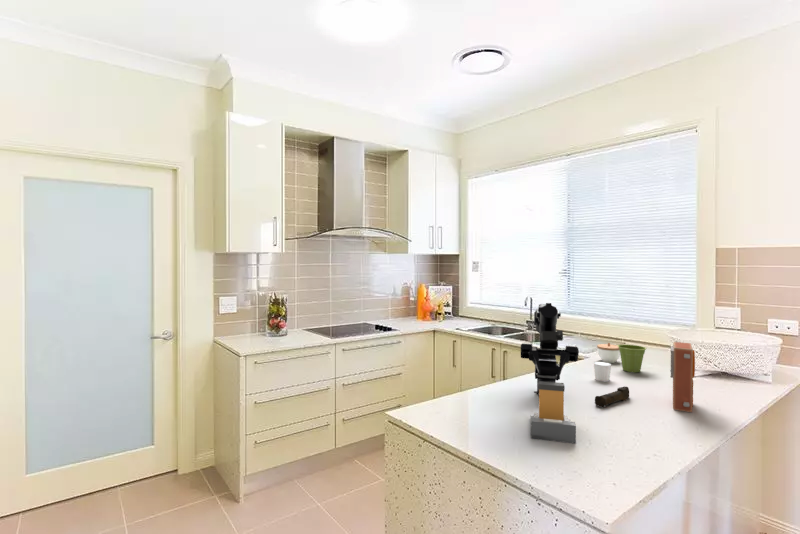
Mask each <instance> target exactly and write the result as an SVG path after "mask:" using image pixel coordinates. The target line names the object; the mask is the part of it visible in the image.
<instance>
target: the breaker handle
mask: <svg viewBox="0 0 800 534" xmlns="http://www.w3.org/2000/svg"><path fill="white" fill-rule="evenodd" d="M538 387H539V395H538V416H539V418H542V419H553V420H562V421H564V414H565V413H564V412H565V411H564V410H565V407H564V405H565V403H564V401H565V396H564V395H565V384H564V382H543V381H538Z"/></svg>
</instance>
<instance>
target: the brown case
mask: <svg viewBox="0 0 800 534" xmlns="http://www.w3.org/2000/svg"><path fill="white" fill-rule="evenodd" d="M672 343H673V345H670V369H669V370H670V378H672V409H673V410H674V411H681V412H688V413H693V407H694V380H693V379H694V378H695V374H696V373H695V372H696V366H695V365H696V356H695V355H696V354H695V353H696V352H695V350H694V349H693V346H692V343H690V342H678V341H673V342H672Z"/></svg>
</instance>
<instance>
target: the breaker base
mask: <svg viewBox="0 0 800 534" xmlns="http://www.w3.org/2000/svg"><path fill="white" fill-rule="evenodd" d="M576 424H577V423H576V421H571V419H569V415H566V414H565V415H564V421H562V420H553V419H542V418H539V412H533V415H530V439H532V440H533V439H534V440H542V441H550V442H552V441H553V442H560V443H569V444H577V425H576Z"/></svg>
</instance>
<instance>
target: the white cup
mask: <svg viewBox="0 0 800 534" xmlns="http://www.w3.org/2000/svg"><path fill="white" fill-rule="evenodd" d="M593 369H594V379H595V380H596V381H598V382H609V381H610V379H611V370H612V363H608V362H603V361H594V362H593Z"/></svg>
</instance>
